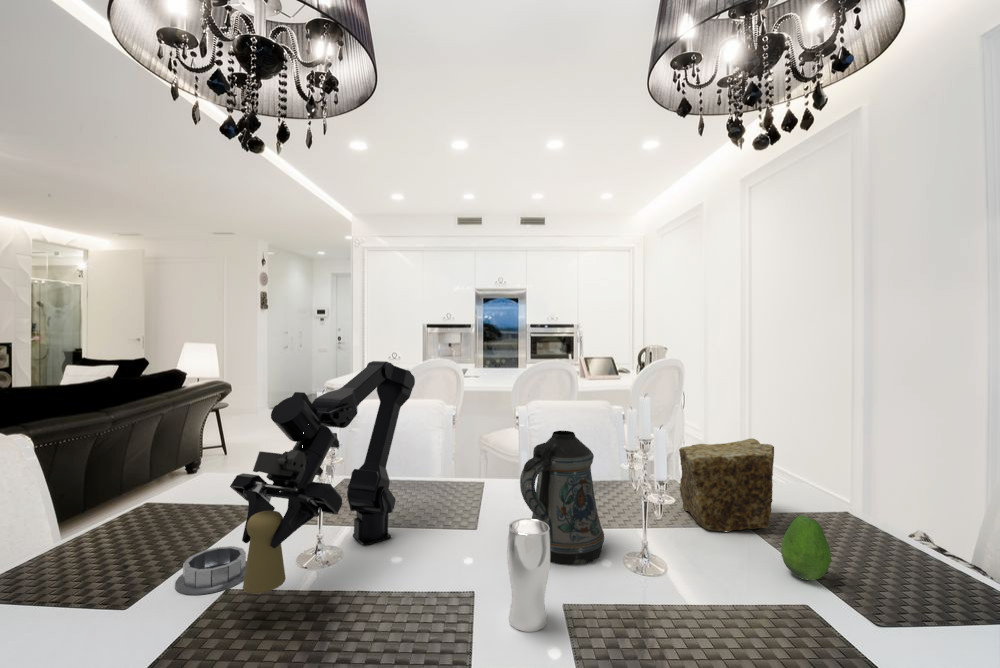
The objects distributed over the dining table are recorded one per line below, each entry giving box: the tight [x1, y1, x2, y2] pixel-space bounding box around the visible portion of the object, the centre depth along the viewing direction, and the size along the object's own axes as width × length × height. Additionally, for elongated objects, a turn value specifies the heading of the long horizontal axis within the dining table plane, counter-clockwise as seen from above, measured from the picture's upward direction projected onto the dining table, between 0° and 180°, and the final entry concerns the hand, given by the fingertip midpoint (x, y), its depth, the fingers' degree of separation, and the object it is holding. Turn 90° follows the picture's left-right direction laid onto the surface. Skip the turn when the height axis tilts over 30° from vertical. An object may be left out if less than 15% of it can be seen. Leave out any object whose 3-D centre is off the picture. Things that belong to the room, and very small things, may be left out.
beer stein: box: [519, 430, 605, 566], centre depth 99 cm, size 16×19×25 cm
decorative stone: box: [678, 438, 775, 532], centre depth 117 cm, size 21×20×20 cm
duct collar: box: [174, 545, 247, 596], centre depth 85 cm, size 12×12×4 cm
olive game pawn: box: [242, 510, 286, 594], centre depth 73 cm, size 6×6×11 cm
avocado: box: [780, 514, 832, 581], centre depth 89 cm, size 8×8×12 cm
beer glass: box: [506, 518, 551, 633], centre depth 74 cm, size 7×7×15 cm
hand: (258, 544), depth 72 cm, fingers closed on olive game pawn, 5 cm apart
